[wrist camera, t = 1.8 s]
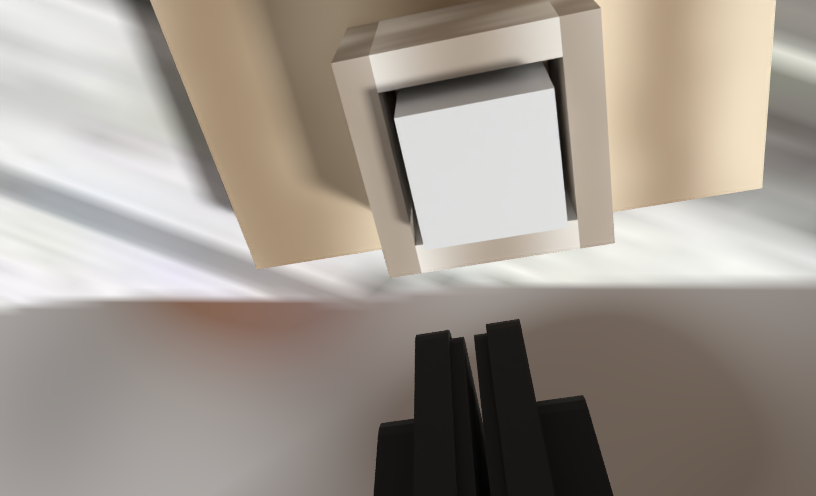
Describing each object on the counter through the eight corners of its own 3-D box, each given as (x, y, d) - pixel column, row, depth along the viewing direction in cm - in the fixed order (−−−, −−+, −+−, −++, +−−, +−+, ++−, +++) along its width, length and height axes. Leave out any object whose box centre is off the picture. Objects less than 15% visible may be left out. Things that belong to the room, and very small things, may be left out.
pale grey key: (538, 53, 19) (554, 87, 16) (552, 179, 21) (568, 227, 18) (399, 80, 19) (393, 118, 17) (426, 200, 21) (424, 250, 19)
